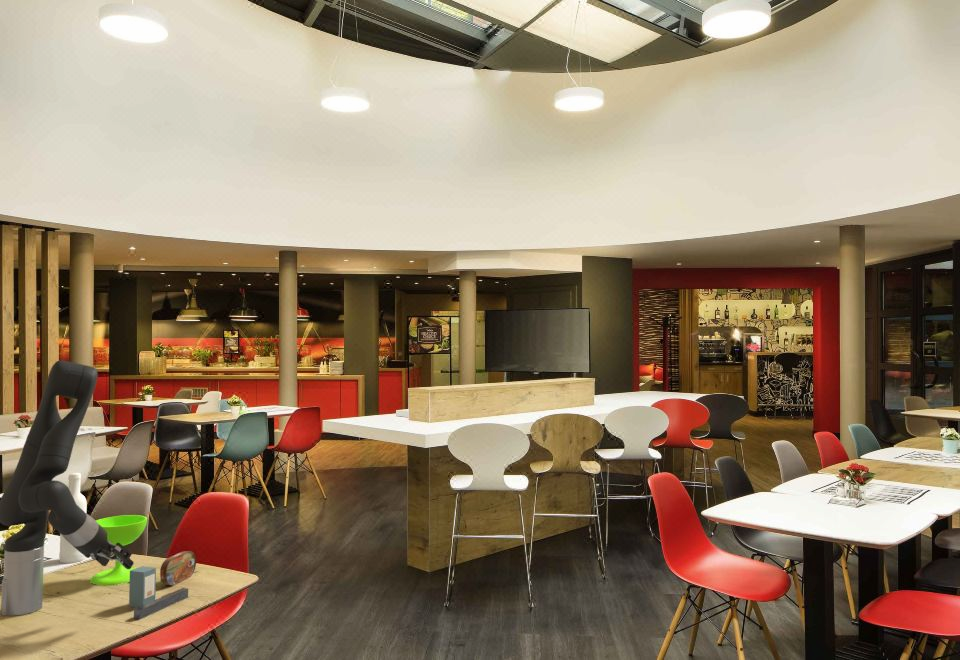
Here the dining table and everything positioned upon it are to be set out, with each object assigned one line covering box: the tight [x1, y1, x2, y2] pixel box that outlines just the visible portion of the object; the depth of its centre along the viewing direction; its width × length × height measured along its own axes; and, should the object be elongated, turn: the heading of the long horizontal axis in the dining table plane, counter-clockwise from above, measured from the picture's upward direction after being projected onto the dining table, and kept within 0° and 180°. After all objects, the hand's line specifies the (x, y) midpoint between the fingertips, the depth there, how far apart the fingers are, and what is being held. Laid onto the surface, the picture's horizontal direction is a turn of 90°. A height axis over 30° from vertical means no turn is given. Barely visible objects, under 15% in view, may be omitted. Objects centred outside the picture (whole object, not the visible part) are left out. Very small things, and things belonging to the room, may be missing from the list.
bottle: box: [59, 472, 88, 564], centre depth 236 cm, size 8×8×30 cm
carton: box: [128, 565, 157, 608], centre depth 193 cm, size 5×4×10 cm
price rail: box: [133, 587, 189, 620], centre depth 191 cm, size 18×3×2 cm, turn 161°
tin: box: [159, 550, 197, 587], centre depth 214 cm, size 15×3×8 cm, turn 168°
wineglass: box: [89, 514, 148, 586], centre depth 217 cm, size 16×16×18 cm
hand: (118, 564), depth 186 cm, fingers open, 8 cm apart
